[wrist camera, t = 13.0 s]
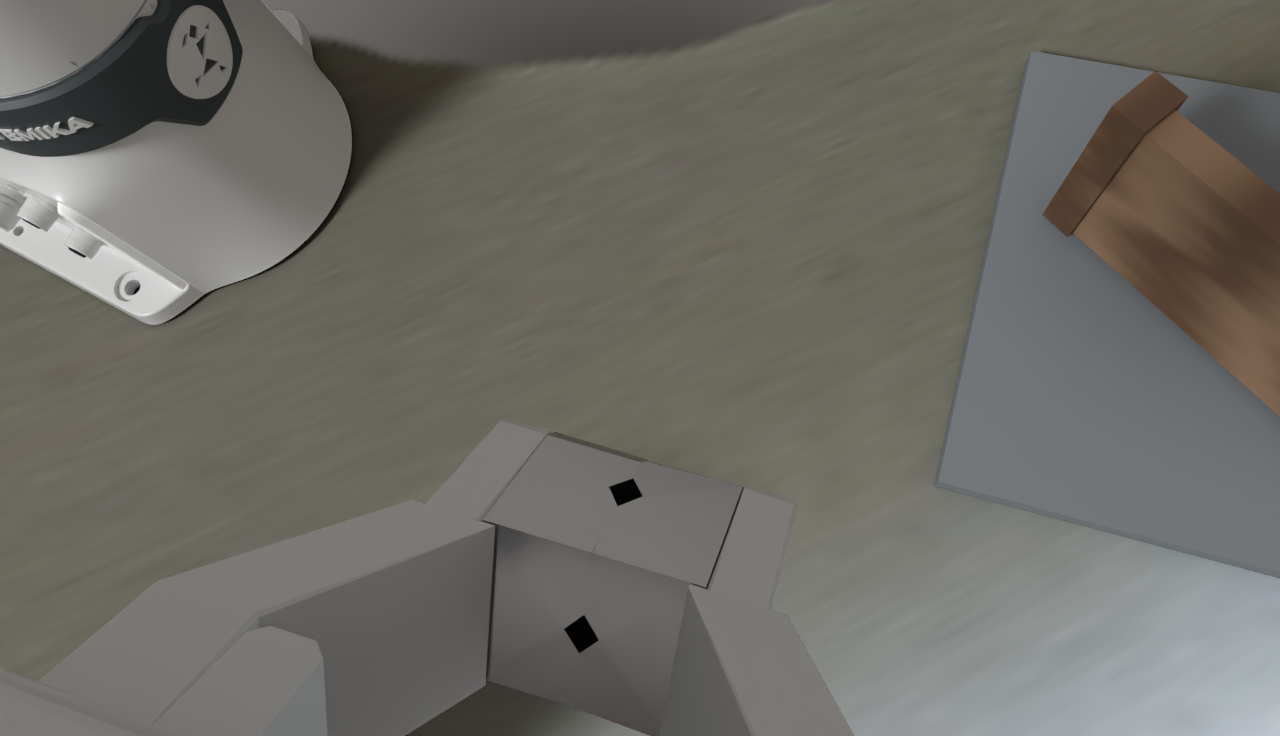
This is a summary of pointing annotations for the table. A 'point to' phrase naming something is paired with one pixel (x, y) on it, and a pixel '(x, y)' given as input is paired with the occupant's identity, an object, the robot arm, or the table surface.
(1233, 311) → the gate leaf
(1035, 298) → the grey plate
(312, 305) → the table surface
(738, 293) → the table surface
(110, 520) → the table surface
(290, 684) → the robot arm
